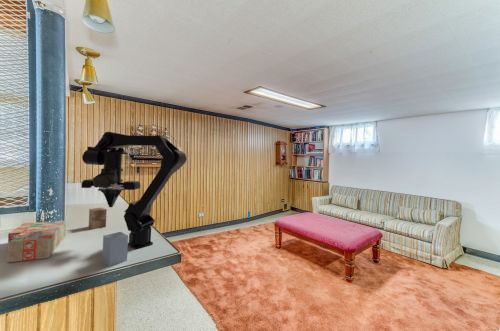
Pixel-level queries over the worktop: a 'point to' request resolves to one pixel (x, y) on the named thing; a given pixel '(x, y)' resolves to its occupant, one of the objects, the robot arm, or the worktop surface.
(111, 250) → the slate-blue block
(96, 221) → the walnut block
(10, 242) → the stack of blocks
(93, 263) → the worktop surface
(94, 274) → the worktop surface
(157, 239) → the worktop surface
